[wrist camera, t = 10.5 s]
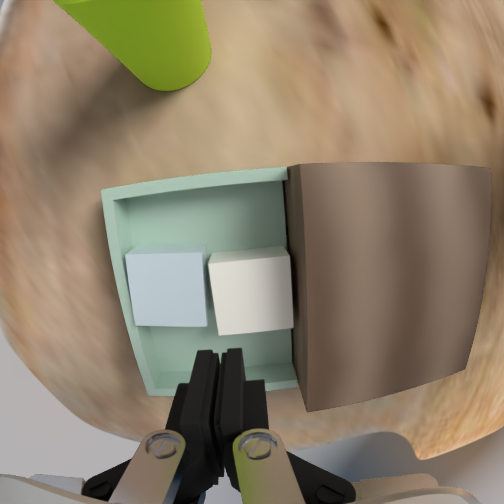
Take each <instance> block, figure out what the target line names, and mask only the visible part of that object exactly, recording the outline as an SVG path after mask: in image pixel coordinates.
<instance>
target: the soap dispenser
mask: <svg viewBox="0 0 504 504" xmlns="http://www.w3.org/2000/svg"><path fill="white" fill-rule="evenodd" d="M53 1H54V2H55V3H56V4H58V5H59V6H60V7H61V8H62V9H63V10H65V11H66V12H67V13H68V14H69V15H70V16H71V17H72V18H74V19H75V20H76V21H77V22H78V23H79V24H80V25H81V26H83V27H84V28H85V29H86V30H87V31H88V32H89V33H90V34H91V35H92V36H94V37H95V38H96V39H97V40H98V41H99V42H100V43H101V44H102V45H103V46H104V47H105V48H107V49H108V50H109V51H110V52H111V53H112V54H113V55H114V56H115V57H116V58H117V59H118V60H119V61H120V62H121V63H123V64H124V65H125V66H126V67H127V68H128V69H129V70H130V71H131V72H132V73H133V74H134V75H135V76H136V77H137V78H138V79H139V80H140V81H141V82H142V83H143V84H145V85H146V86H148V87H150V88H152V89H155V90H159V91H173V90H178V89H181V88H184V87H186V86H188V85H190V84H192V83H193V82H195V81H196V80H197V79H198V78H199V77H200V76H201V75H202V74H203V73H204V72H205V70H206V69H207V67H208V65H209V63H210V60H211V44H210V39H209V35H208V30H207V25H206V20H205V15H204V10H203V5H202V0H53Z"/></svg>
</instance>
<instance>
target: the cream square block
mask: <svg viewBox="0 0 504 504" xmlns="http://www.w3.org/2000/svg"><path fill="white" fill-rule="evenodd" d="M208 266H209V274H210V281H211V288H212V295H213V302H214V308H215V315H216V321H217V328H218V334H219V336H221V335H232V334H243V333H253V332H263V331H272V330H280V329H288V328H294V326H293V304H292V285H291V267H290V255H289V254H288V252H287V251H286V249H285V248H284V246H276V247H266V248H256V249H246V250H236V251H226V252H216V253H212V254H211V257H210V260H209V263H208Z"/></svg>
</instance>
